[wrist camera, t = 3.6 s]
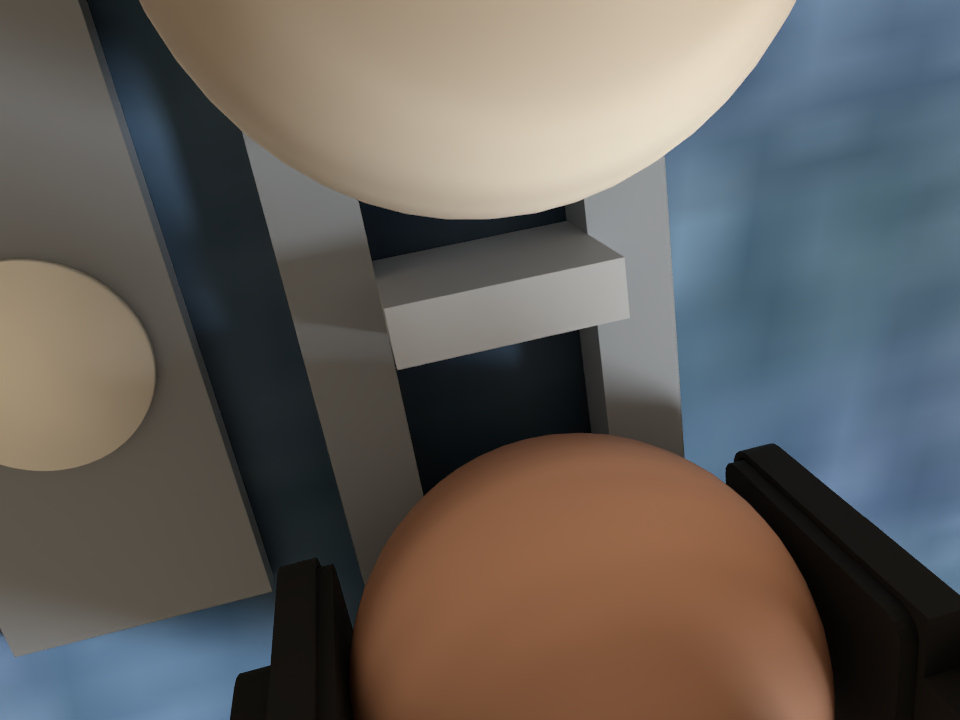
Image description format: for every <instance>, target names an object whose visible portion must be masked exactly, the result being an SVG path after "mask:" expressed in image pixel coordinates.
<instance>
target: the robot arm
mask: <svg viewBox="0 0 960 720" xmlns="http://www.w3.org/2000/svg"><path fill="white" fill-rule="evenodd" d="M726 485H728V486H729V487H730V488H732V489H733V490H734V491H735V492H736V493H737V494H739V495H740V496H741V497H742V498H743V499H744V500H746V501H747V502H748V503H749V504H750V505H751V506H752V507H753V508H754V509H755V510H756V512H757V513H758V514H759V515H760V516H761V517H762V518H763V519H764V520H765V521H766V522H767V524H768V525H769V526H770V527H771V529H772V530H773V531H774V532H775V533H776V535H777V536H778V537H779V538H780V540H781V541H782V543H783V544H784V546H785V547H786V549H787V550H788V552H789V553H790V555H791V556H792V558H793V560H794V561H795V563H796V565H797V567H798V569H799V570H800V572H801V574H802V576H803V577H804V579H805V581H806V583H807V586H808V588H809V590H810V593H811V595H812V597H813V600H814V602H815V605H816V608H817V610H818V613H819V616H820V618H821V621H822V624H823V627H824V631H825V635H826V640H827V644H828V649H829V654H830V659H831V665H832V670H833V678H834V697H835V720H960V595H959V594H958V593H956V592H955V591H954V590H953V589H952V588H950V587H949V586H948V585H947V584H946V583H944V582H943V581H942V580H941V579H939V578H938V577H937V576H936V575H935V574H933V573H932V572H931V571H930V570H929V569H927V568H926V567H925V566H924V565H922V564H921V563H920V562H919V561H918V560H916V559H915V558H914V557H913V556H912V555H910V554H909V553H908V552H907V551H906V550H904V549H903V548H902V547H901V546H899V545H898V544H897V543H896V542H895V541H893V540H892V539H891V538H890V537H889V536H887V535H886V534H885V533H884V532H882V531H881V530H880V529H879V528H878V527H876V526H875V525H874V524H873V523H872V522H870V521H869V520H868V519H867V518H865V517H864V516H862V515H861V514H860V513H859V512H858V511H856V510H855V509H854V508H853V507H852V506H850V505H849V504H848V503H847V502H845V501H844V500H843V499H842V498H841V497H839V496H838V495H837V494H836V493H835V492H833V491H832V490H831V489H830V488H829V487H827V486H826V485H825V484H824V483H822V482H821V481H820V480H819V479H818V478H816V477H815V476H814V475H813V474H812V473H810V472H809V471H808V470H807V469H806V468H804V467H803V466H802V465H801V464H799V463H798V462H797V461H796V460H795V459H793V458H792V457H791V456H790V455H789V454H787V453H786V452H785V451H784V450H783V449H781V448H780V447H779V446H777V445H776V444H767V445H763V446H759V447H755V448H751V449H747V450H743V451H739V452H738V453H736V455H735V458H734V462H733V463H729V464H728V465H727V467H726ZM352 635H353V629H352V625H351V621H350V618H349V614H348V611H347V607H346V604H345V600H344V597H343V593H342V590H341V586H340V583H339V579H338V576H337V572H336V569H335V567H334V565H333V564H330V565H326V566H322V567H321V565H320V562H319V560H318V559H317V558H313V559H309V560H305V561H301V562H297V563H293V564H289V565H285V566H281V567H279V569H278V576H277V589H276V602H275V615H274V627H273V640H272V653H271V665H270V666H267V667H263V668H259V669H255V670H252V671H248V672H244V673H240V674H239V675H238V677H237V678H236V682H235V686H234V693H233V701H232V708H231V716H230V720H353V717H352V708H351V699H350V690H349V663H350V650H351V643H352Z"/></svg>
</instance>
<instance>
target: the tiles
mask: <svg viewBox="0 0 960 720" xmlns="http://www.w3.org/2000/svg"><path fill="white" fill-rule="evenodd" d="M273 578H274V576H273V573H272V570H271V567H270V564H269V561H268V558H267V555H266V551H265V548H264V545H263V542H262V539H261V536H260V533H259V530H258V527H257V524H256V521H255V518H254V514H253V511H252V508H251V505H250V502H249V499H248V496H247V493H246V490H245V487H244V484H243V481H242V478H241V474H240V471H239V468H238V465H237V462H236V459H235V456H234V453H233V450H232V447H231V444H230V441H229V437H228V434H227V431H226V428H225V425H224V422H223V419H222V416H221V413H220V410H219V407H218V404H217V401H216V397H215V394H214V391H213V388H212V385H211V382H210V379H209V376H208V373H207V370H206V367H205V364H204V360H203V357H202V354H201V351H200V348H199V345H198V342H197V339H196V336H195V333H194V330H193V327H192V324H191V320H190V317H189V314H188V311H187V308H186V305H185V302H184V299H183V296H182V293H181V290H180V287H179V283H178V280H177V277H176V274H175V271H174V268H173V265H172V262H171V259H170V256H169V253H168V250H167V247H166V243H165V240H164V237H163V234H162V231H161V228H160V225H159V222H158V219H157V216H156V213H155V210H154V206H153V203H152V200H151V197H150V194H149V191H148V188H147V185H146V182H145V179H144V176H143V173H142V170H141V166H140V163H139V160H138V157H137V154H136V151H135V148H134V145H133V142H132V139H131V136H130V133H129V129H128V126H127V123H126V120H125V117H124V114H123V111H122V108H121V105H120V102H119V99H118V96H117V93H116V89H115V86H114V83H113V80H112V77H111V74H110V71H109V68H108V65H107V62H106V59H105V56H104V52H103V49H102V46H101V43H100V40H99V37H98V34H97V31H96V28H95V25H94V22H93V19H92V16H91V12H90V9H89V6H88V3H87V0H0V629H1V631H2V633H3V635H4V637H5V639H6V641H7V643H8V645H9V647H10V649H11V650H12V652H13V654H14V656H15V657H18V656H22V655H26V654H30V653H33V652H37V651H41V650H45V649H49V648H53V647H57V646H61V645H65V644H69V643H73V642H77V641H81V640H84V639H88V638H92V637H96V636H100V635H104V634H108V633H112V632H116V631H120V630H124V629H128V628H131V627H135V626H139V625H143V624H147V623H151V622H155V621H159V620H163V619H167V618H171V617H175V616H179V615H182V614H186V613H190V612H194V611H198V610H202V609H206V608H210V607H214V606H218V605H222V604H226V603H229V602H233V601H237V600H241V599H245V598H249V597H253V596H257V595H261V594H265V593H269V592H272V590H273Z"/></svg>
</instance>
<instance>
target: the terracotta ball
mask: <svg viewBox="0 0 960 720" xmlns="http://www.w3.org/2000/svg"><path fill="white" fill-rule="evenodd" d="M349 690H350V699H351V708H352V717H353V720H835V697H834V678H833V670H832V665H831V659H830V654H829V649H828V644H827V640H826V635H825V631H824V627H823V624H822V621H821V618H820V616H819V613H818V610H817V608H816V605H815V602H814V600H813V597H812V595H811V593H810V590H809V588H808V586H807V583H806V581H805V579H804V577H803V576H802V574H801V572H800V570H799V569H798V567H797V565H796V563H795V561H794V560H793V558H792V556H791V555H790V553H789V552H788V550H787V549H786V547H785V546H784V544H783V543H782V541H781V540H780V538H779V537H778V536H777V535H776V533H775V532H774V531H773V530H772V529H771V527H770V526H769V525H768V524H767V522H766V521H765V520H764V519H763V518H762V517H761V516H760V515H759V514H758V513H757V512H756V510H755V509H754V508H753V507H752V506H751V505H750V504H749V503H748V502H747V501H746V500H744V499H743V498H742V497H741V496H740V495H739V494H737V493H736V492H735V491H734V490H733V489H732V488H730V487H729V486H728V485H726V484H725V483H724V482H722V481H721V480H720V479H718V478H717V477H716V476H714V475H713V474H712V473H710V472H708V471H706V470H705V469H703V468H701V467H699V466H698V465H696V464H694V463H692V462H690V461H688V460H686V459H685V458H683V457H681V456H679V455H677V454H675V453H673V452H671V451H668V450H665V449H662V448H659V447H656V446H654V445H651V444H648V443H644V442H641V441H638V440H634V439H629V438H624V437H619V436H614V435H608V434H593V433H567V434H551V435H545V436H539V437H534V438H528V439H524V440H521V441H518V442H514V443H511V444H508V445H504V446H502V447H499V448H497V449H495V450H492V451H490V452H488V453H485V454H483V455H481V456H479V457H477V458H475V459H473V460H472V461H470V462H468V463H466V464H465V465H463V466H461V467H459V468H458V469H456V470H455V471H454V472H452V473H451V474H450V475H448V476H447V477H446V478H444V479H443V480H441V481H440V482H439V483H437V484H436V485H435V486H434V487H433V488H432V489H431V490H430V491H429V492H428V493H427V494H426V495H425V496H424V497H423V498H421V499H420V500H419V501H418V503H417V504H416V505H415V506H414V507H413V508H412V509H411V510H410V512H409V513H408V514H407V515H406V516H405V518H404V519H403V520H402V521H401V522H400V524H399V525H398V526H397V527H396V529H395V530H394V532H393V533H392V535H391V537H390V538H389V540H388V541H387V543H386V544H385V546H384V548H383V549H382V551H381V553H380V555H379V557H378V560H377V562H376V564H375V566H374V568H373V570H372V572H371V575H370V577H369V579H368V581H367V583H366V585H365V588H364V591H363V595H362V598H361V602H360V605H359V608H358V612H357V616H356V621H355V625H354V629H353V635H352V643H351V650H350V663H349Z"/></svg>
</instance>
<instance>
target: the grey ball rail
mask: <svg viewBox="0 0 960 720" xmlns="http://www.w3.org/2000/svg"><path fill="white" fill-rule="evenodd" d="M242 134H243V138H244V141H245V145H246V149H247V153H248V156H249V160H250V164H251V167H252V171H253V175H254V178H255V182H256V186H257V190H258V193H259V197H260V201H261V204H262V208H263V212H264V216H265V219H266V223H267V227H268V230H269V234H270V238H271V241H272V245H273V249H274V253H275V256H276V260H277V264H278V267H279V271H280V275H281V278H282V282H283V286H284V290H285V293H286V297H287V301H288V304H289V308H290V312H291V316H292V319H293V323H294V327H295V330H296V334H297V338H298V341H299V345H300V349H301V353H302V356H303V360H304V364H305V367H306V371H307V375H308V378H309V382H310V386H311V390H312V393H313V397H314V401H315V404H316V408H317V412H318V415H319V419H320V423H321V427H322V430H323V434H324V438H325V441H326V445H327V449H328V453H329V456H330V460H331V464H332V467H333V471H334V475H335V478H336V482H337V486H338V490H339V493H340V497H341V501H342V504H343V508H344V512H345V515H346V519H347V523H348V527H349V530H350V534H351V538H352V541H353V545H354V549H355V553H356V556H357V560H358V564H359V567H360V571H361V575H362V578H363V582H364V586H365V585H366V583H367V581H368V579H369V577H370V575H371V572H372V570H373V568H374V566H375V564H376V562H377V560H378V557H379V555H380V553H381V551H382V549H383V548H384V546H385V544H386V543H387V541H388V540H389V538H390V537H391V535H392V533H393V532H394V530H395V529H396V527H397V526H398V525H399V524H400V522H401V521H402V520H403V519H404V518H405V516H406V515H407V514H408V513H409V512H410V510H411V509H412V508H413V507H414V506H415V505H416V504H417V503H418V501H419V500H420V499H421V498H423V497H424V495H423V491H422V486H421V482H420V477H419V473H418V468H417V464H416V459H415V455H414V450H413V446H412V441H411V436H410V432H409V427H408V423H407V418H406V414H405V409H404V405H403V400H402V396H401V391H400V387H399V382H398V378H397V373H396V369H395V364H394V360H393V355H394V359H395V363H396V367H397V370H401V369H405V368H410V367H414V366H418V365H423V364H427V363H432V362H436V361H441V360H445V359H450V358H454V357H458V356H463V355H467V354H472V353H476V352H481V351H485V350H490V349H494V348H499V347H503V346H507V345H512V344H516V343H521V342H525V341H530V340H534V339H539V338H543V337H547V336H552V335H556V334H561V333H565V332H570V331H574V330H579V332H580V340H581V349H582V357H583V366H584V374H585V383H586V391H587V400H588V408H589V417H590V425H591V433H593V434H608V435H614V436H619V437H624V438H629V439H634V440H638V441H641V442H644V443H648V444H651V445H654V446H656V447H659V448H662V449H665V450H668V451H671V452H673V453H675V454H677V455H679V456H681V457H683V458H684V444H683V429H682V413H681V398H680V383H679V368H678V353H677V337H676V322H675V307H674V292H673V277H672V261H671V246H670V231H669V216H668V200H667V185H666V170H665V155H664V156H663V157H661V158H660V159H658V160H657V161H655V162H654V163H653V164H651V165H650V166H648V167H646V168H645V169H643V170H641V171H639V172H638V173H636V174H634V175H632V176H631V177H629V178H627V179H625V180H624V181H622V182H620V183H619V184H617V185H615V186H613V187H611V188H609V189H606V190H604V191H601V192H599V193H597V194H594V195H592V196H589V197H587V198H585V199H582V200H580V201H578V202H575V203H571V204H568V205H565V213H566V221H564V222H559V223H554V224H549V225H544V226H539V227H534V228H530V229H525V230H520V231H515V232H510V233H505V234H501V235H496V236H491V237H486V238H481V239H476V240H472V241H467V242H462V243H457V244H452V245H447V246H442V247H438V248H433V249H428V250H423V251H418V252H413V253H409V254H404V255H399V256H394V257H389V258H384V259H380V260H375V261H372V260H371V255H370V251H369V246H368V242H367V237H366V233H365V228H364V224H363V219H362V215H361V210H360V206H359V201H358V200H356V199H354V198H352V197H349V196H347V195H344V194H342V193H340V192H337V191H335V190H332V189H330V188H327V187H325V186H323V185H321V184H319V183H318V182H316V181H314V180H312V179H311V178H309V177H307V176H305V175H304V174H302V173H300V172H298V171H297V170H295V169H293V168H291V167H290V166H288V165H286V164H284V163H283V162H282V161H280V160H279V159H278V158H276V157H275V156H274V155H272V154H271V153H269V152H268V151H267V150H265V149H264V148H263V147H261V146H260V145H259V144H257V143H256V142H255V141H253V140H252V139H251V138H249V137H248V136H247V135H245V134H244V133H243V132H242ZM388 336H389V337H388ZM389 340H390V341H389ZM390 344H391V346H390ZM391 348H392V350H391ZM392 352H393V355H392Z"/></svg>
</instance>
